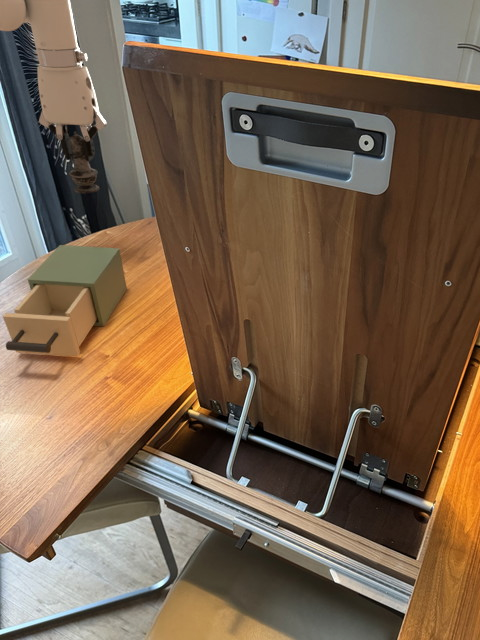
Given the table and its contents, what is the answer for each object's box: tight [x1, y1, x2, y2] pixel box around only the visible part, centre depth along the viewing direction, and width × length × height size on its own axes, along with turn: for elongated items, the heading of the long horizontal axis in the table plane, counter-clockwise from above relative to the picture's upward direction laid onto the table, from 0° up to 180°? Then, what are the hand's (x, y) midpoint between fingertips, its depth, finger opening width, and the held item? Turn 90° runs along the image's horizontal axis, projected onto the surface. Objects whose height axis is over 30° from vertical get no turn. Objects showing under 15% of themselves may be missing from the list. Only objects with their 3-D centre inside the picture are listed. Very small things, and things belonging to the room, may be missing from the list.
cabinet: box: [27, 244, 128, 327], centre depth 104 cm, size 15×13×10 cm
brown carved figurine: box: [68, 130, 100, 194], centre depth 110 cm, size 6×6×12 cm
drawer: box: [2, 284, 98, 358], centre depth 93 cm, size 18×11×8 cm, turn 175°
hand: (80, 157), depth 109 cm, fingers closed on brown carved figurine, 3 cm apart
